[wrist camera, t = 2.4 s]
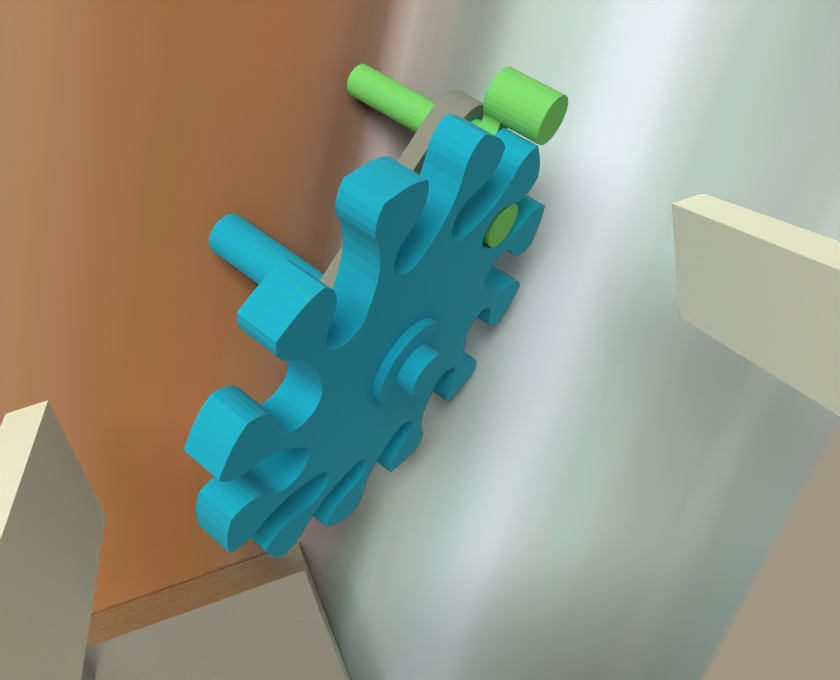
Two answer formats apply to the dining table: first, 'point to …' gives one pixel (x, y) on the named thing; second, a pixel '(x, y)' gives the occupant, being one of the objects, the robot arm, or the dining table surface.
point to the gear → (372, 308)
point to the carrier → (220, 629)
